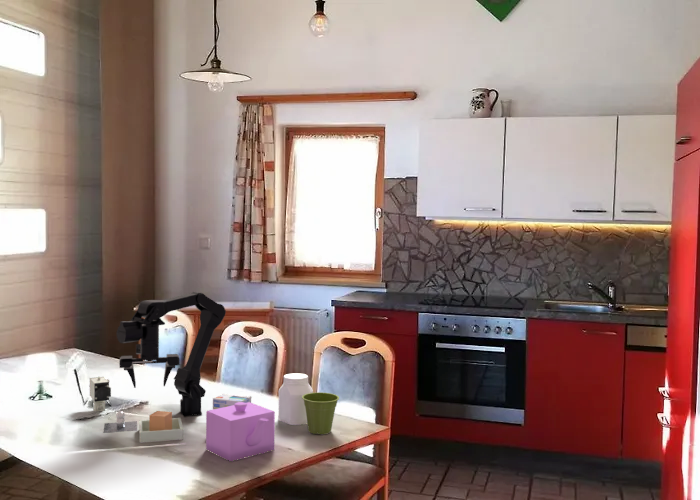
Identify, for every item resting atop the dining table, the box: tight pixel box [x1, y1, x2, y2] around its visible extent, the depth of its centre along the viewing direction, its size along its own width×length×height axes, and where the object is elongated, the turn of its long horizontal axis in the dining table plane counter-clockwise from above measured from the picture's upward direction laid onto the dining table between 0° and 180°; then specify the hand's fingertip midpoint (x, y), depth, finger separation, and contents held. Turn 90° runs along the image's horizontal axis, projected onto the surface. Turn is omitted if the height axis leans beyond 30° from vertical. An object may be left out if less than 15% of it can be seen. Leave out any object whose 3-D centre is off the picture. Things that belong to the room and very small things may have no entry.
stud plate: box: [102, 410, 138, 434], centre depth 227 cm, size 10×10×6 cm
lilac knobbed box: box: [205, 402, 276, 462], centre depth 208 cm, size 15×25×14 cm, turn 42°
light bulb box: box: [212, 393, 252, 410], centre depth 228 cm, size 11×7×11 cm, turn 71°
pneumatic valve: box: [88, 376, 112, 413], centre depth 246 cm, size 6×12×12 cm, turn 30°
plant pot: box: [302, 391, 340, 435], centre depth 228 cm, size 12×12×11 cm
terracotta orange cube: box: [148, 410, 173, 431], centre depth 220 cm, size 5×5×6 cm
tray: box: [138, 417, 184, 443], centre depth 220 cm, size 13×13×4 cm
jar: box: [277, 372, 314, 426], centre depth 240 cm, size 12×10×15 cm
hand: (149, 386), depth 233 cm, fingers open, 9 cm apart
